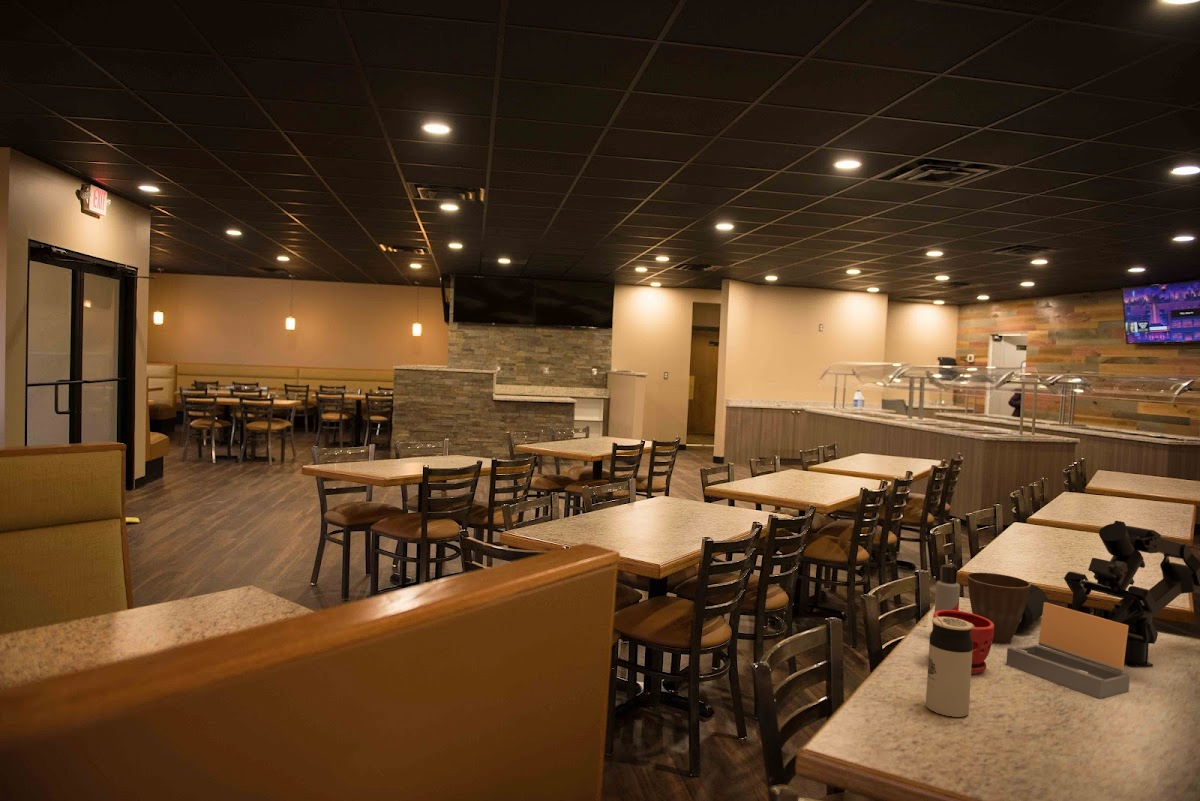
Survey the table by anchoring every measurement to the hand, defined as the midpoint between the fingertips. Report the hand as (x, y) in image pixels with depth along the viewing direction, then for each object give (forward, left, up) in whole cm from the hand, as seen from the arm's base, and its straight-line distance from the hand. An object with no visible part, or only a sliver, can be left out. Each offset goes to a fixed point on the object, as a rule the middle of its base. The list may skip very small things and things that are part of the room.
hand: (1092, 618), depth 184 cm
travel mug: (+49, +20, -13) cm, 55 cm away
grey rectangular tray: (+9, +3, -13) cm, 16 cm away
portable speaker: (-9, -36, -13) cm, 39 cm away
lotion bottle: (+23, -22, -13) cm, 35 cm away
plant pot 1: (+31, -3, -13) cm, 34 cm away
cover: (+4, +2, -4) cm, 6 cm away
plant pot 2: (+8, -23, -13) cm, 28 cm away
